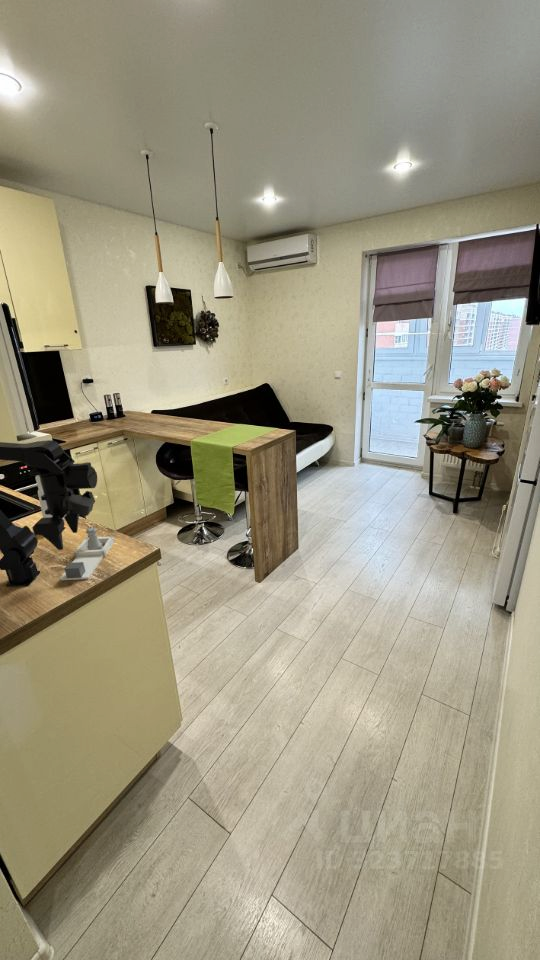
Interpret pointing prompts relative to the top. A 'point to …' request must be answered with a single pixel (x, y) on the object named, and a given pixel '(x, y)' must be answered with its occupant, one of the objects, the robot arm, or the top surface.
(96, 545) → the rook chess piece
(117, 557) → the top surface
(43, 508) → the cosmetic bottle
